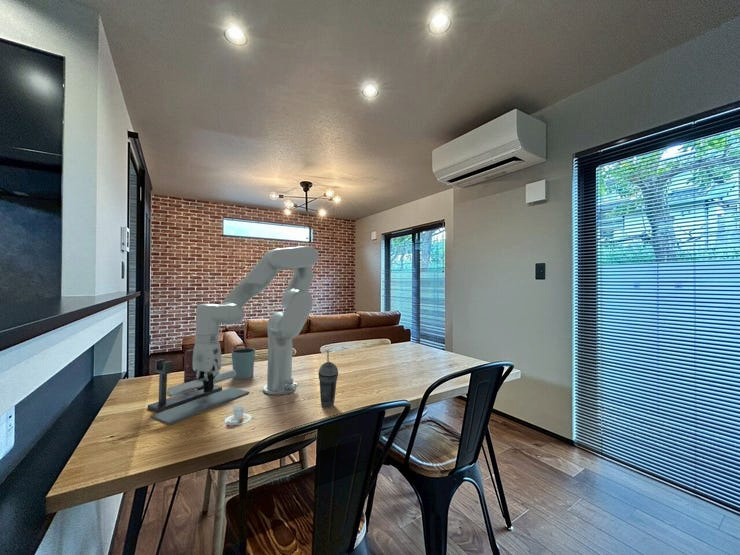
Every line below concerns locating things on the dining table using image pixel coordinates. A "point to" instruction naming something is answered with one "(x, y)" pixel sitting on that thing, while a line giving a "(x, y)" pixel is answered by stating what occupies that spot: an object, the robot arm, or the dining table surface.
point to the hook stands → (164, 403)
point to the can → (189, 366)
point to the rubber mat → (198, 405)
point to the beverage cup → (328, 383)
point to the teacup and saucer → (237, 416)
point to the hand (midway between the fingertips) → (204, 389)
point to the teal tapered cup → (243, 362)
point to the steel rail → (199, 383)
